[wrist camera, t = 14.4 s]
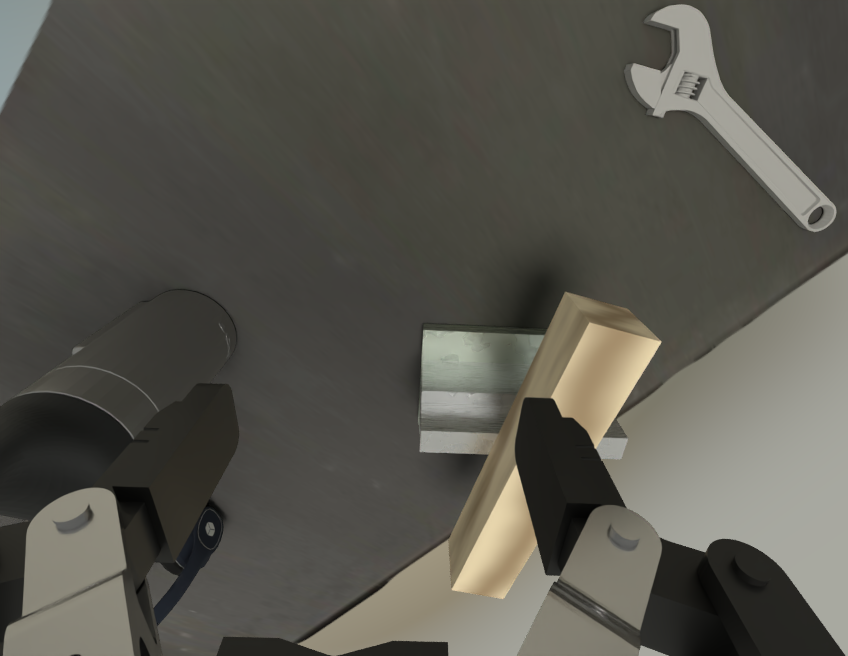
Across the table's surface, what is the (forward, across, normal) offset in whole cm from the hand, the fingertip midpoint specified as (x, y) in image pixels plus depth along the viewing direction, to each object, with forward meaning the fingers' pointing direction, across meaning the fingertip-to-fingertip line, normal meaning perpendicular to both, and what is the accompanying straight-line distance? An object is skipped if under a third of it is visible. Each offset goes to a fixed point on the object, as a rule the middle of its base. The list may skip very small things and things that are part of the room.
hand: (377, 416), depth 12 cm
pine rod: (+19, -11, +18) cm, 28 cm away
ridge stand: (+30, -11, +18) cm, 37 cm away
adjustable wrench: (+31, -27, -7) cm, 42 cm away
